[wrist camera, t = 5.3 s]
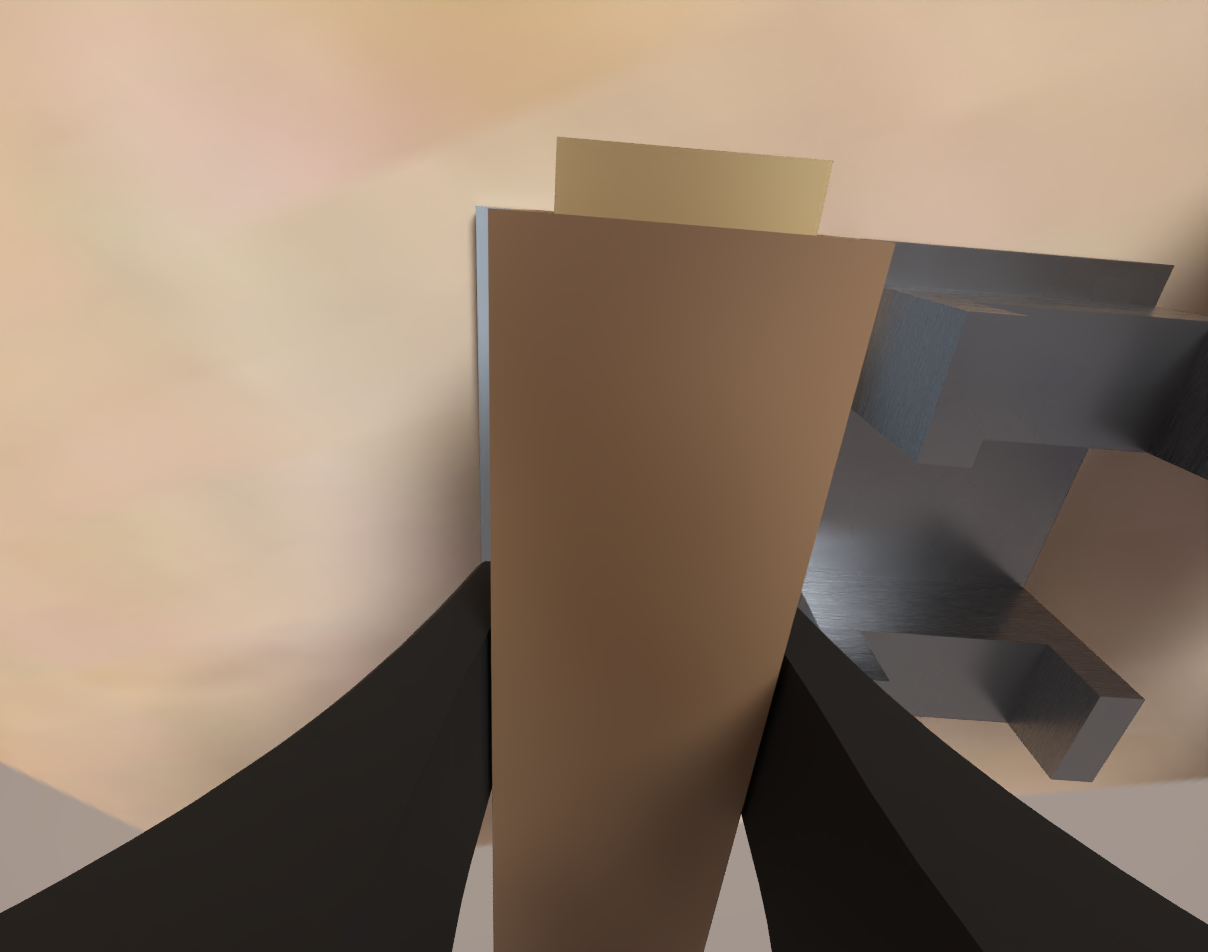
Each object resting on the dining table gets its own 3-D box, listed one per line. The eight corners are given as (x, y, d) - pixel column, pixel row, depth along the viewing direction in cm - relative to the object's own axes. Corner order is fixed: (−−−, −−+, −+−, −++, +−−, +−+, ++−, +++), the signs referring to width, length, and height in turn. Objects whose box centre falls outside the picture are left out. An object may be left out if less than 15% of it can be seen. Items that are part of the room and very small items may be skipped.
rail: (793, 182, 8) (917, 161, 4) (669, 824, 13) (687, 1012, 10) (538, 160, 8) (487, 124, 4) (522, 814, 13) (493, 1001, 10)
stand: (1140, 262, 12) (1410, 288, 8) (963, 661, 17) (1075, 806, 13) (860, 238, 12) (987, 251, 8) (759, 646, 17) (807, 788, 12)
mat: (812, 234, 12) (817, 235, 12) (714, 695, 17) (716, 702, 17) (478, 206, 12) (475, 205, 12) (485, 679, 17) (483, 686, 17)
